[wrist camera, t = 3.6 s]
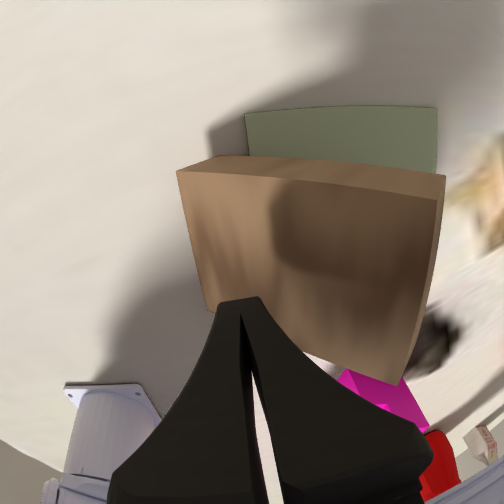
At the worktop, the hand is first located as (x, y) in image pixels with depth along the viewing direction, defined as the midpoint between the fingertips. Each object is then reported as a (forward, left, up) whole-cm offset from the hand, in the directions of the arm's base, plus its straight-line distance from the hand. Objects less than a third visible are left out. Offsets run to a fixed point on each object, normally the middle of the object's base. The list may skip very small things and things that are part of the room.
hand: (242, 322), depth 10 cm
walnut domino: (0, +1, -7) cm, 7 cm away
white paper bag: (-53, -43, -9) cm, 69 cm away
